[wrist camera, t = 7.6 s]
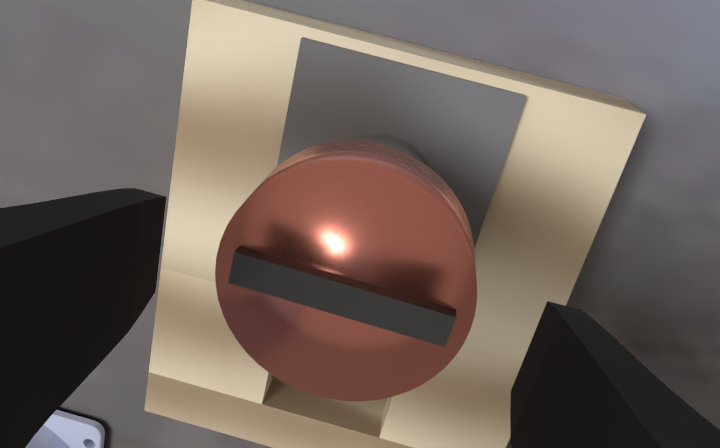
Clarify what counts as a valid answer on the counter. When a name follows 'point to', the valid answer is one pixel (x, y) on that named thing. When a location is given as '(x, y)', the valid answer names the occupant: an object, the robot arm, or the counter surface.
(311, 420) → the board
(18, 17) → the counter surface
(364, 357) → the peg
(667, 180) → the counter surface
